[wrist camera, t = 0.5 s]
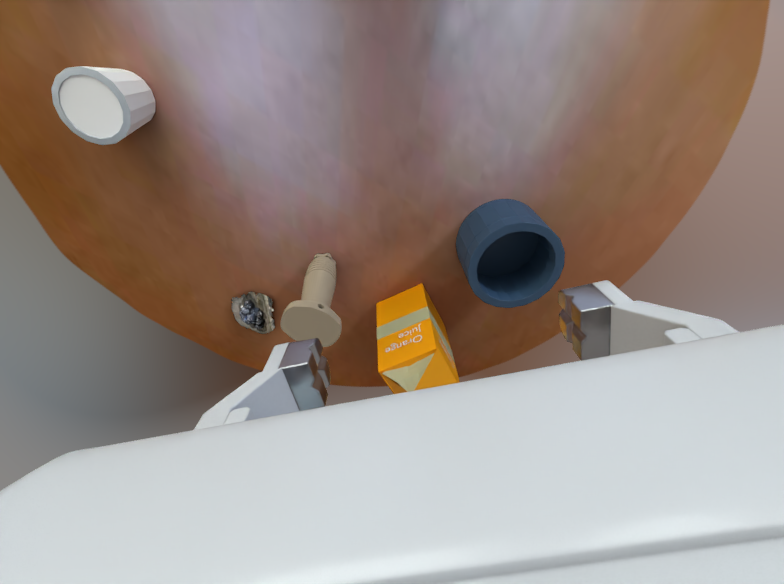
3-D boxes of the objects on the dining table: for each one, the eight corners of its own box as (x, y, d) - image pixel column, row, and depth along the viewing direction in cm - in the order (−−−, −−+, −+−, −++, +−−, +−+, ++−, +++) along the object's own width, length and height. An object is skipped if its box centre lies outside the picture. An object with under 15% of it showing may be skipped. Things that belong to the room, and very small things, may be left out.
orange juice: (400, 344, 64) (412, 453, 48) (375, 303, 60) (377, 407, 43) (446, 325, 63) (474, 431, 46) (423, 282, 58) (445, 381, 42)
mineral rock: (264, 284, 57) (261, 291, 56) (290, 326, 62) (288, 334, 60) (222, 297, 58) (218, 305, 57) (250, 338, 62) (246, 346, 61)
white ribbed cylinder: (175, 103, 45) (145, 113, 39) (138, 144, 47) (105, 159, 41) (117, 46, 42) (75, 48, 36) (80, 93, 44) (35, 102, 38)
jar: (451, 208, 53) (463, 234, 46) (540, 190, 52) (566, 213, 45) (460, 283, 59) (472, 315, 52) (540, 267, 58) (563, 298, 51)
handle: (338, 284, 58) (329, 353, 45) (295, 265, 56) (274, 332, 43) (352, 257, 56) (348, 321, 43) (309, 237, 54) (290, 298, 41)
